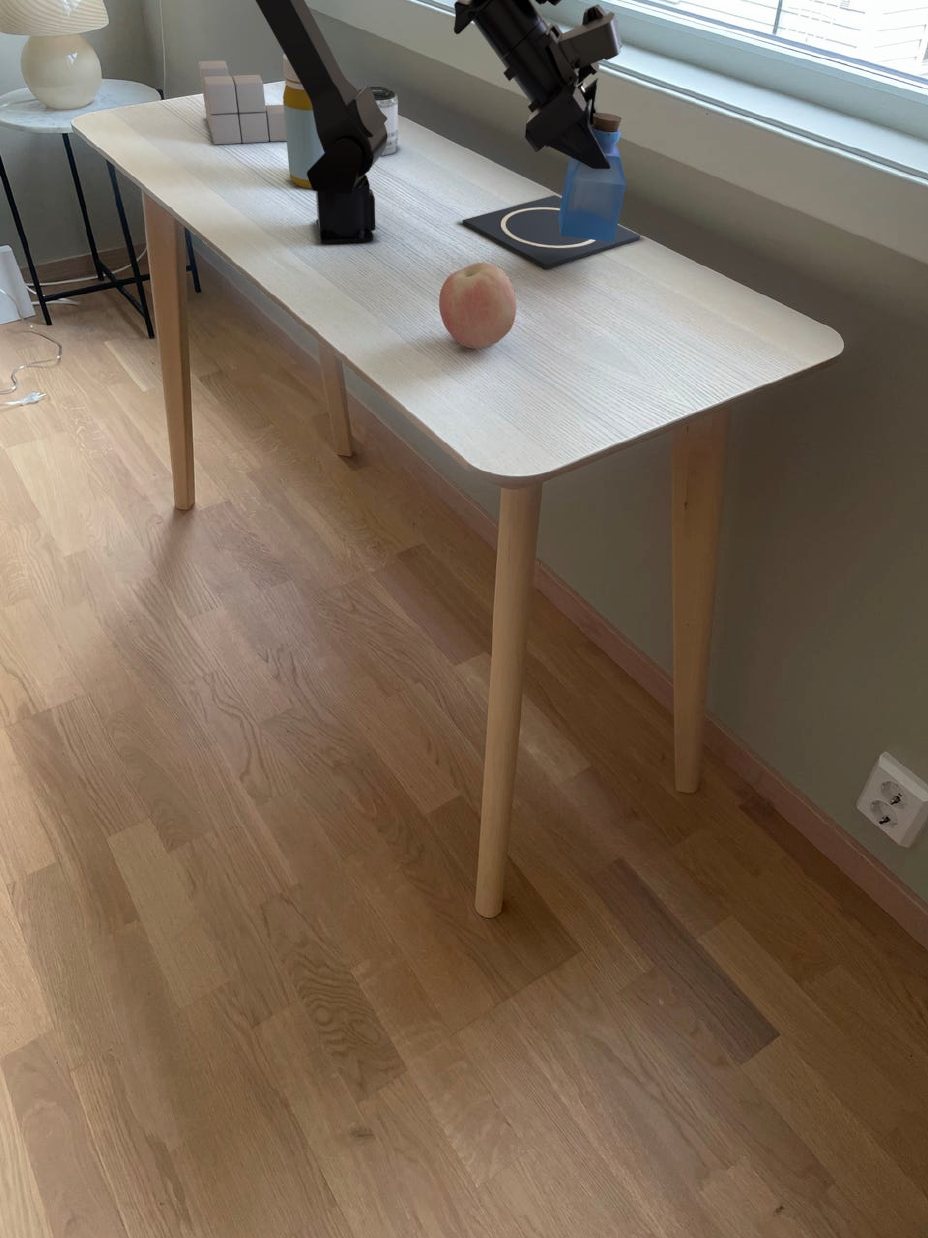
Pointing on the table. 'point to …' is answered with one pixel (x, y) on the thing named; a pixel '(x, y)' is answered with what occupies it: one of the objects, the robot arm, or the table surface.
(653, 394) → the table surface
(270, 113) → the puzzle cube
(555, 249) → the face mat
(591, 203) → the perfume bottle
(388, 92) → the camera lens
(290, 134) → the bottle
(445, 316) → the apple
